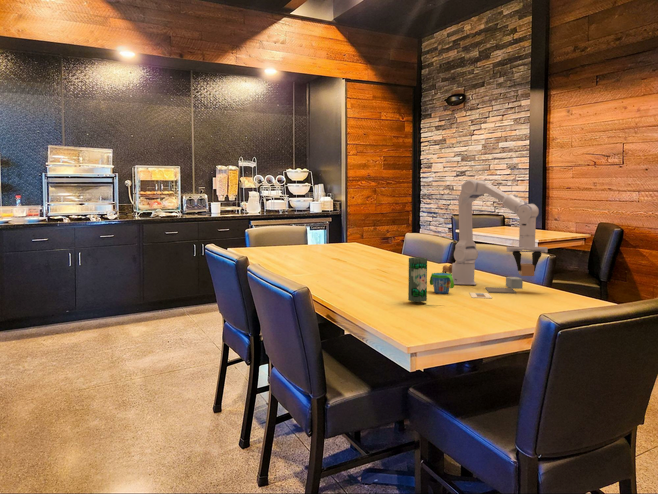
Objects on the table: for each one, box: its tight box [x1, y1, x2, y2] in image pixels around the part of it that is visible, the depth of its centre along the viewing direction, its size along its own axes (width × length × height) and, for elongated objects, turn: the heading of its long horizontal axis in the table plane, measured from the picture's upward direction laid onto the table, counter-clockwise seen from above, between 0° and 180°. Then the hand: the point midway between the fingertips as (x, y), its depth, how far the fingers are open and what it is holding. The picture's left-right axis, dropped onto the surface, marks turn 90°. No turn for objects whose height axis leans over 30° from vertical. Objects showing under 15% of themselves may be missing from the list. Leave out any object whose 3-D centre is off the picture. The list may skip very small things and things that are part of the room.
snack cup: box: [429, 272, 455, 295], centre depth 190 cm, size 11×8×7 cm
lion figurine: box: [441, 264, 452, 274], centre depth 234 cm, size 12×4×7 cm, turn 33°
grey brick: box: [505, 276, 524, 290], centre depth 203 cm, size 4×7×4 cm, turn 177°
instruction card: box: [469, 292, 493, 299], centre depth 184 cm, size 7×10×1 cm
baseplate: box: [485, 286, 517, 295], centre depth 194 cm, size 10×10×1 cm
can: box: [407, 256, 428, 303], centre depth 175 cm, size 6×6×15 cm
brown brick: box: [518, 262, 535, 277], centre depth 190 cm, size 4×7×4 cm, turn 168°
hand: (526, 270), depth 190 cm, fingers closed on brown brick, 5 cm apart
